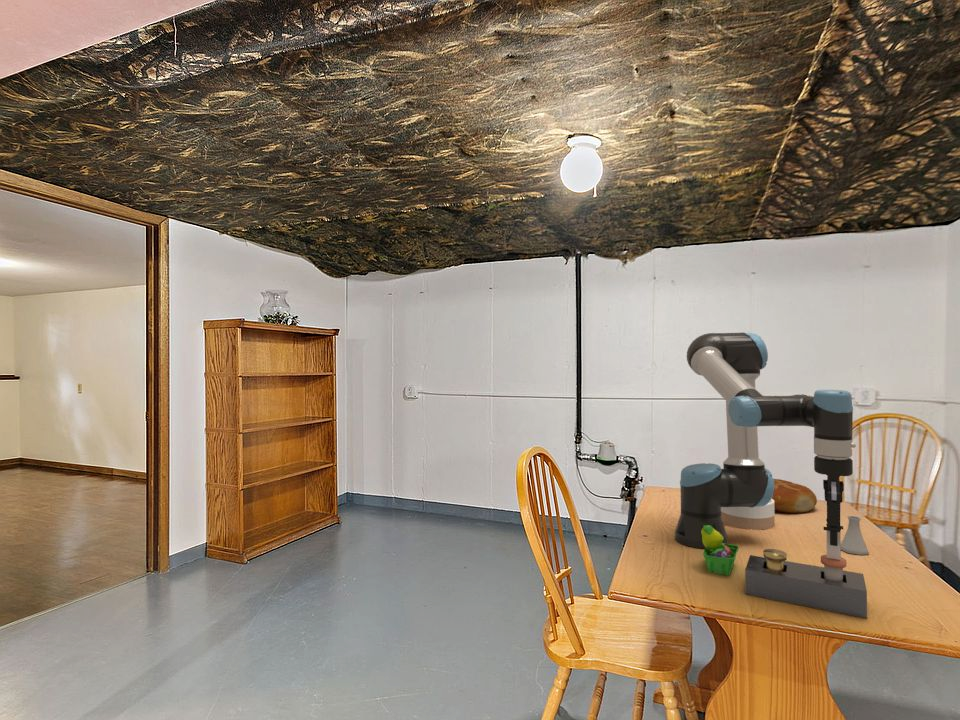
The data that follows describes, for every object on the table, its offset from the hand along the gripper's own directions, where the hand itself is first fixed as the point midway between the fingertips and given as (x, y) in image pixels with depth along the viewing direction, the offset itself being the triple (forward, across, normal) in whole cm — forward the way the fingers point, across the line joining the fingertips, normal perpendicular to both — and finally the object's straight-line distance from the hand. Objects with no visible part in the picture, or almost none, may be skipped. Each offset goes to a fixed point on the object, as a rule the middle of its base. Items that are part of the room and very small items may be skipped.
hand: (833, 557), depth 127 cm
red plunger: (+8, 0, 0) cm, 8 cm away
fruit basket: (+11, +9, +26) cm, 30 cm away
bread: (+11, +83, +15) cm, 85 cm away
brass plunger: (+9, 0, +12) cm, 15 cm away
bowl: (+11, +57, +24) cm, 63 cm away
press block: (+10, 0, +6) cm, 12 cm away
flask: (+11, +42, -6) cm, 44 cm away
